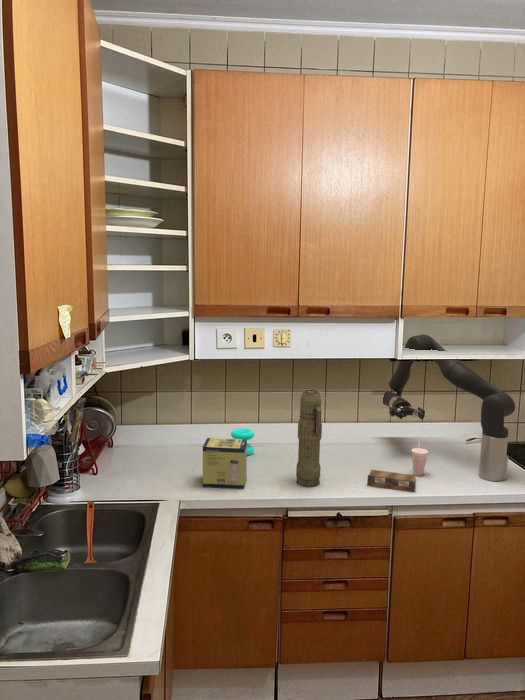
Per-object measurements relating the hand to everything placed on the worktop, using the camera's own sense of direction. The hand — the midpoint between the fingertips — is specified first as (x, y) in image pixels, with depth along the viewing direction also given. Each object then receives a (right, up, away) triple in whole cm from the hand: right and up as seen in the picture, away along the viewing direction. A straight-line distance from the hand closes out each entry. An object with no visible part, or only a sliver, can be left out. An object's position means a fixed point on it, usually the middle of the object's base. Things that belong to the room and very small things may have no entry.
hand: (412, 416), depth 219 cm
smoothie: (0, -22, -8) cm, 23 cm away
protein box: (-75, -22, -20) cm, 81 cm away
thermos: (-44, -22, -18) cm, 53 cm away
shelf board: (-12, -23, -17) cm, 31 cm away
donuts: (-70, -17, +12) cm, 73 cm away
